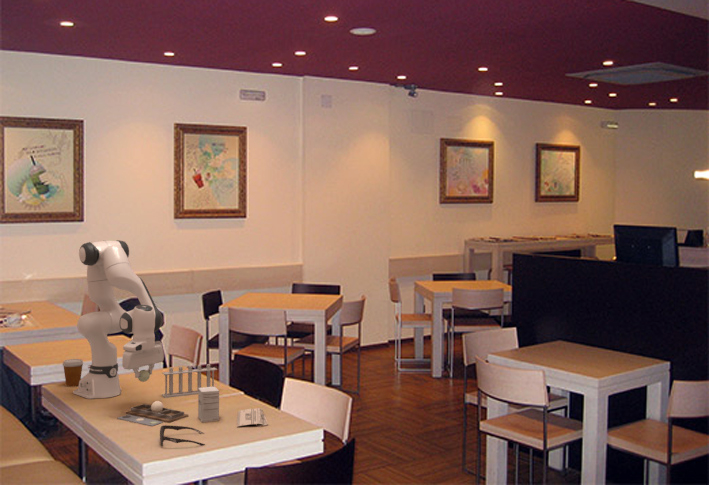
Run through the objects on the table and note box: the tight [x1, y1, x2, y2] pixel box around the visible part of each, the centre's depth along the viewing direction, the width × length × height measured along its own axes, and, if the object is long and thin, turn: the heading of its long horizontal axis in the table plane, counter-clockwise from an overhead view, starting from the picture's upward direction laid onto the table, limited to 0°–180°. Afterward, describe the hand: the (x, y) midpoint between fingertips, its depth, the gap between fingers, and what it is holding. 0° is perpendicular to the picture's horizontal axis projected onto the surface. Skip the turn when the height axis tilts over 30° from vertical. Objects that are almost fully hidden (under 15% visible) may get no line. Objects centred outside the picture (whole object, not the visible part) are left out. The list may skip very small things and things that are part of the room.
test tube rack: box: [161, 363, 218, 399], centre depth 330 cm, size 25×4×13 cm, turn 118°
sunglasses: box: [159, 424, 206, 447], centre depth 263 cm, size 16×17×5 cm
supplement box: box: [197, 386, 220, 423], centre depth 290 cm, size 7×7×13 cm
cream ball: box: [150, 400, 164, 413], centre depth 295 cm, size 5×5×5 cm
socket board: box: [125, 403, 189, 424], centre depth 295 cm, size 25×11×2 cm, turn 60°
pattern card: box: [116, 414, 164, 427], centre depth 287 cm, size 20×6×1 cm, turn 60°
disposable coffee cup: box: [62, 358, 84, 388], centre depth 344 cm, size 10×10×12 cm
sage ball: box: [137, 369, 151, 383], centre depth 299 cm, size 5×5×5 cm
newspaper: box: [236, 407, 268, 428], centre depth 292 cm, size 23×12×2 cm, turn 8°
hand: (143, 376), depth 299 cm, fingers closed on sage ball, 5 cm apart
